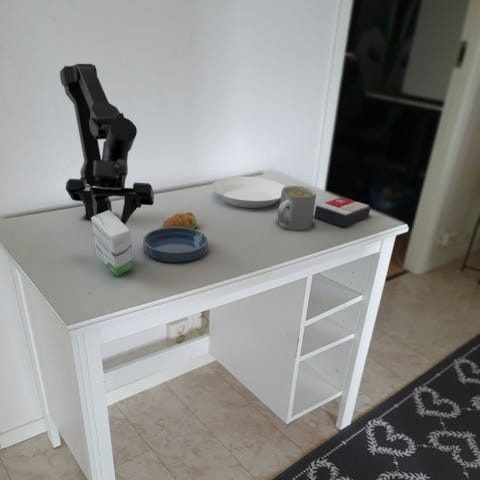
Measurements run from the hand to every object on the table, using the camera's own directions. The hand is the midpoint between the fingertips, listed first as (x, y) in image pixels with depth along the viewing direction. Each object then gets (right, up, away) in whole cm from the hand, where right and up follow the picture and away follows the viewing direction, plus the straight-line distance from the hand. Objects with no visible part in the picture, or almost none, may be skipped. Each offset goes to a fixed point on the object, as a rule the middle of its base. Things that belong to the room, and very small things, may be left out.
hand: (107, 226), depth 109 cm
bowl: (+32, +20, +54) cm, 66 cm away
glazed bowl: (+13, -3, +17) cm, 22 cm away
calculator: (+61, +11, +44) cm, 77 cm away
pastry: (+13, +5, +30) cm, 33 cm away
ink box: (0, -7, +6) cm, 10 cm away
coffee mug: (+45, +7, +36) cm, 58 cm away
